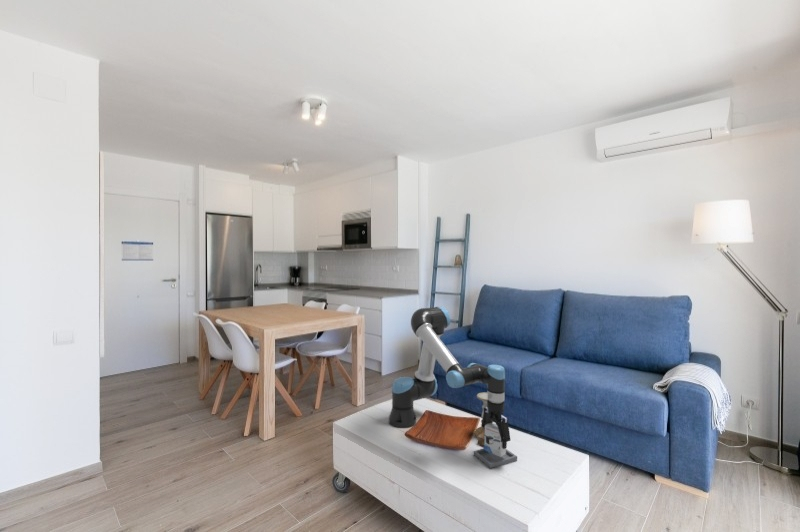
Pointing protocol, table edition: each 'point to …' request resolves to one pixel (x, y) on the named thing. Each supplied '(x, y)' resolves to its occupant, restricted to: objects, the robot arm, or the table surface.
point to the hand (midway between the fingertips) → (495, 449)
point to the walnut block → (481, 439)
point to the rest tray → (494, 458)
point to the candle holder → (484, 398)
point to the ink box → (492, 439)
